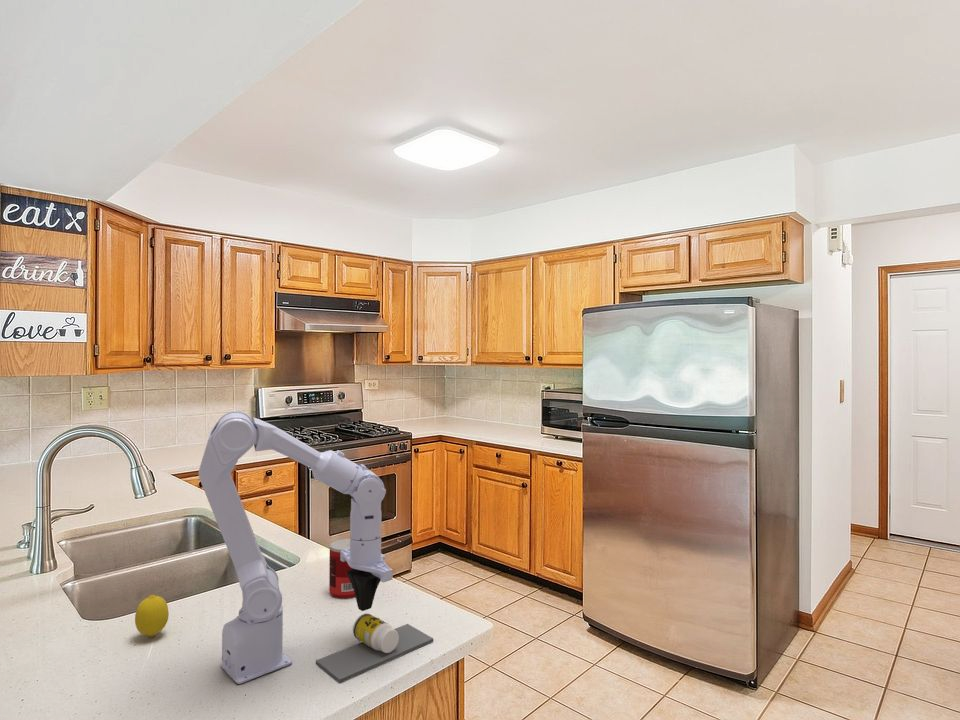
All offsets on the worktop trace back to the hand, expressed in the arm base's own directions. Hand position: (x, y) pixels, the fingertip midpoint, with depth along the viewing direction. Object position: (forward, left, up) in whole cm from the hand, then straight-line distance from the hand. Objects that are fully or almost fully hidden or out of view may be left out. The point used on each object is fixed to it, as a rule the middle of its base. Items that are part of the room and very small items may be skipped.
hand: (364, 608), depth 108 cm
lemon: (-28, +30, -7) cm, 41 cm away
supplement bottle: (0, +1, -4) cm, 4 cm away
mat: (0, -4, -7) cm, 8 cm away
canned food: (+10, +23, -7) cm, 26 cm away
